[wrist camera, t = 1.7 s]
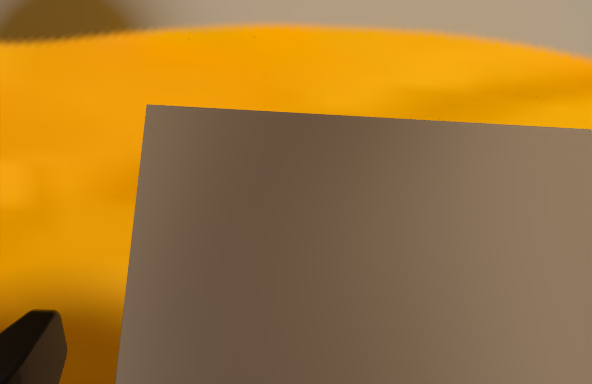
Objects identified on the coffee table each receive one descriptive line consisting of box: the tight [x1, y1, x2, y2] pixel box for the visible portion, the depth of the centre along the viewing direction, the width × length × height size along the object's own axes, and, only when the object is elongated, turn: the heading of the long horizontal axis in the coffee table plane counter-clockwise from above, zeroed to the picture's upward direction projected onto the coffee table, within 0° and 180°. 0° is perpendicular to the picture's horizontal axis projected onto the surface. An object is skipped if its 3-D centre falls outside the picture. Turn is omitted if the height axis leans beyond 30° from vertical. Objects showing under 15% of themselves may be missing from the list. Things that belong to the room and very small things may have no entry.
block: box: [115, 105, 592, 384], centre depth 11 cm, size 5×5×12 cm
